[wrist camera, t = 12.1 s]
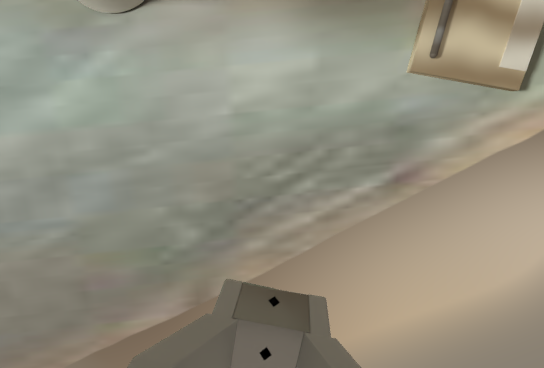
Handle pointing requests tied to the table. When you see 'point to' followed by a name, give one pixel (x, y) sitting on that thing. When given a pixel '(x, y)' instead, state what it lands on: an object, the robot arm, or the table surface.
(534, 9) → the board
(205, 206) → the table surface
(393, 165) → the table surface
